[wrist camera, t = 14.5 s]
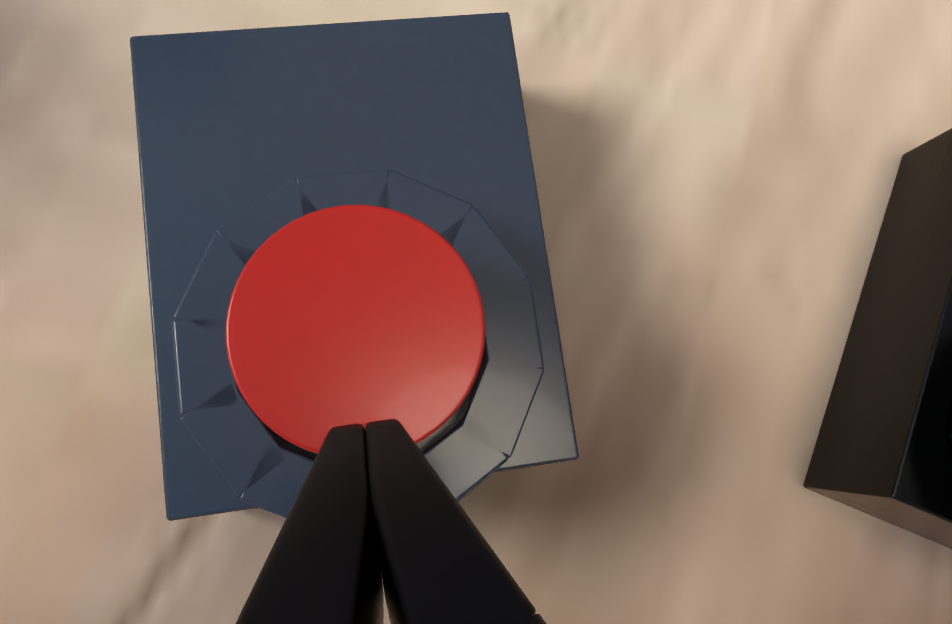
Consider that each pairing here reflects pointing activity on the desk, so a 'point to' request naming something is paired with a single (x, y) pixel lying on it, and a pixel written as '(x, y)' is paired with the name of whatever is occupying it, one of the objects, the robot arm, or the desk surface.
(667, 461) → the desk surface
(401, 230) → the button
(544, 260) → the box
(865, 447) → the light box
